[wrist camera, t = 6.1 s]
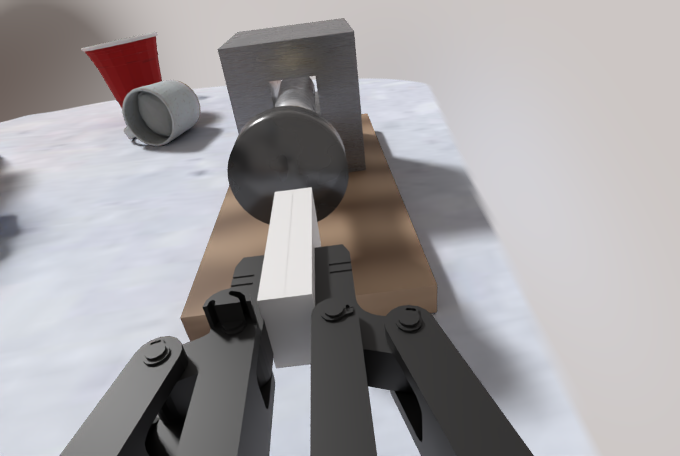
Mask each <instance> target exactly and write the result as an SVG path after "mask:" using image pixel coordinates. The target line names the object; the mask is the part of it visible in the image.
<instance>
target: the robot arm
mask: <svg viewBox="0 0 680 456" xmlns="http://www.w3.org/2000/svg"><path fill="white" fill-rule="evenodd" d="M203 310H204V313H205V315H206V318H207V320H208V323H209V326H210V328H211V329H210V333H208V334H207V335H205V336H203V337H201V338H199V339H196V340H193V341H191V342H188V343H185V344H182V343H181V342H180V341H179V340H178V339H177V338H175V337H171V336H165V337H159V338H156V339H154V340H151V341H149V342H148V343H146V344H145V345H143V346H142V347H141V348H140V349H139V350H138V351H137V352H136V353H135V354H134V356H133V357H132V358H131V360H130V361H129V362H128V364H127V365H126V366H125V368H124V369H123V370H122V372H121V373H120V374H119V376H118V377H117V379H116V380H115V381H114V383H113V384H112V385H111V387H110V388H109V389H108V391H107V392H106V393H105V395H104V396H103V397H102V399H101V400H100V402H99V403H98V404H97V406H96V407H95V408H94V410H93V411H92V412H91V414H90V415H89V416H88V418H87V419H86V420H85V422H84V423H83V425H82V426H81V427H80V429H79V430H78V431H77V433H76V434H75V435H74V437H73V438H72V439H71V441H70V442H69V443H68V445H67V446H66V448H65V449H64V450H63V452H62V453H61V454H60V456H269V451H270V439H271V427H272V415H273V403H274V391H275V380H274V375H273V372H272V365H273V359H274V362H275V366H276V368H283V367H291V366H299V365H307V364H311V453H310V456H377V451H376V444H375V436H374V429H373V421H372V414H371V406H370V399H369V391H368V386H370V387H375V388H381V389H387V390H390V392H391V395H392V397H393V399H394V401H395V403H396V405H397V407H398V409H399V411H400V413H401V415H402V417H403V419H404V421H405V423H406V426H407V428H408V430H409V432H410V434H411V436H412V438H413V440H414V442H415V444H416V446H417V448H418V450H419V452H420V454H421V456H534V455H533V454H532V453H531V451H530V450H529V448H528V447H527V446H526V444H525V443H524V442H523V440H522V439H521V437H520V436H519V435H518V433H517V432H516V431H515V429H514V428H513V426H512V425H511V424H510V422H509V421H508V419H507V418H506V417H505V415H504V414H503V413H502V411H501V410H500V408H499V407H498V406H497V404H496V403H495V402H494V400H493V399H492V397H491V396H490V395H489V393H488V392H487V391H486V389H485V388H484V386H483V385H482V384H481V382H480V381H479V379H478V378H477V377H476V375H475V374H474V373H473V371H472V370H471V368H470V367H469V366H468V364H467V363H466V362H465V360H464V359H463V357H462V356H461V355H460V353H459V352H458V351H457V349H456V348H455V346H454V345H453V344H452V342H451V341H450V339H449V338H448V337H447V335H446V334H445V333H444V331H443V330H442V328H441V327H440V326H439V324H438V323H437V322H436V320H435V319H434V317H433V316H432V315H431V314H430V313H429V312H428V311H427V310H426V309H423V308H421V307H419V306H413V305H404V306H399V307H397V308H394V309H392V310H391V311H390V312H389V313H388V314H387V315H386V316H381V315H375V314H371V313H369V312H366V311H365V310H363V309H362V308H361V307H360V306H359V305H358V303H357V300H356V295H355V288H354V281H353V273H352V266H351V259H350V252H349V251H348V250H347V248H346V247H345V246H344V245H343V244H339V245H332V246H324V247H321V241H320V235H319V229H318V223H317V217H316V210H315V204H314V198H313V192H312V187H309V188H302V189H294V190H286V191H278V192H275V194H274V200H273V206H272V212H271V218H270V225H269V231H268V237H267V243H266V249H265V255H260V256H252V257H244V258H243V259H242V260H241V261H240V262H239V263H238V265H237V266H236V267H235V270H234V274H233V279H232V282H231V287H230V288H229V289H225V290H221V291H219V292H217V293H215V294H213V295H212V296H211V297H210V298H208V299H207V300H206V301H205V303H204V305H203Z"/></svg>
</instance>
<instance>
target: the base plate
mask: <svg viewBox="0 0 680 456" xmlns="http://www.w3.org/2000/svg"><path fill="white" fill-rule="evenodd" d="M361 118H362V129H363V141H364V152H365V164H366V170H363V171H355V172H349V178H348V185H347V189H346V192H345V195H344V197H343V199H342V200H341V202H340V204H339V205H338V206H337V208H336V209H335V210H334V211H333V212H332V213H331V214H329V215H328V216H327V217H325V218H324V219H322V220H320V221H319V222H317V223H318V229H319V235H320V241H321V247H324V246H332V245H339V244H343V245H344V246H345V247H346V248H347V250H348V251H349V252H350V259H351V266H352V273H353V281H354V288H355V295H356V300H357V303H358V305H359V306H360V307H361V308H362V309H363V310H365V311H366V312H369V313H371V314H375V315H381V316H386V315H387V314H388V313H389V312H390V311H391V310H392V309H394V308H397V307H399V306H404V305H413V306H419V307H421V308H423V309H426V310H427V311H428V312H429V313H435V312H437V283H436V281H435V279H434V276H433V274H432V271H431V269H430V266H429V264H428V261H427V259H426V257H425V254H424V252H423V249H422V247H421V244H420V242H419V239H418V237H417V234H416V232H415V230H414V227H413V225H412V222H411V220H410V217H409V215H408V212H407V210H406V208H405V205H404V203H403V200H402V198H401V195H400V193H399V190H398V188H397V185H396V183H395V181H394V178H393V176H392V173H391V171H390V168H389V166H388V163H387V161H386V158H385V156H384V154H383V151H382V149H381V146H380V144H379V141H378V139H377V136H376V134H375V132H374V129H373V127H372V124H371V122H370V119H369V117H368V114H361ZM268 231H269V224H266V223H264V222H262V221H260V220H258V219H256V218H254V217H253V216H251V215H250V214H249V213H248V212H247V211H245V210H244V209H243V207H242V206H241V205H240V204H239V203H238V201H237V200H236V198H235V197H234V195H233V193H232V190H231V188H230V185H229V188H228V191H227V193H226V196H225V199H224V201H223V204H222V207H221V210H220V212H219V215H218V218H217V220H216V223H215V226H214V228H213V231H212V234H211V237H210V239H209V242H208V245H207V247H206V250H205V253H204V255H203V258H202V261H201V264H200V266H199V269H198V272H197V274H196V277H195V280H194V282H193V285H192V288H191V291H190V293H189V296H188V299H187V301H186V304H185V307H184V309H183V312H182V315H181V321H182V323H183V325H184V328H185V330H186V332H187V335H188V337H189V339H190V342H191V341H193V340H196V339H199V338H201V337H203V336H205V335H207V334H208V333H210V329H211V328H210V326H209V323H208V320H207V318H206V315H205V313H204V310H203V305H204V303H205V301H206V300H207V299H208V298H210V297H211V296H212V295H213V294H215V293H217V292H219V291H221V290H225V289H229V288H230V287H231V282H232V279H233V274H234V270H235V267H236V266H237V265H238V263H239V262H240V261H241V260H242V259H243V258H244V257H252V256H260V255H265V249H266V243H267V237H268Z"/></svg>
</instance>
